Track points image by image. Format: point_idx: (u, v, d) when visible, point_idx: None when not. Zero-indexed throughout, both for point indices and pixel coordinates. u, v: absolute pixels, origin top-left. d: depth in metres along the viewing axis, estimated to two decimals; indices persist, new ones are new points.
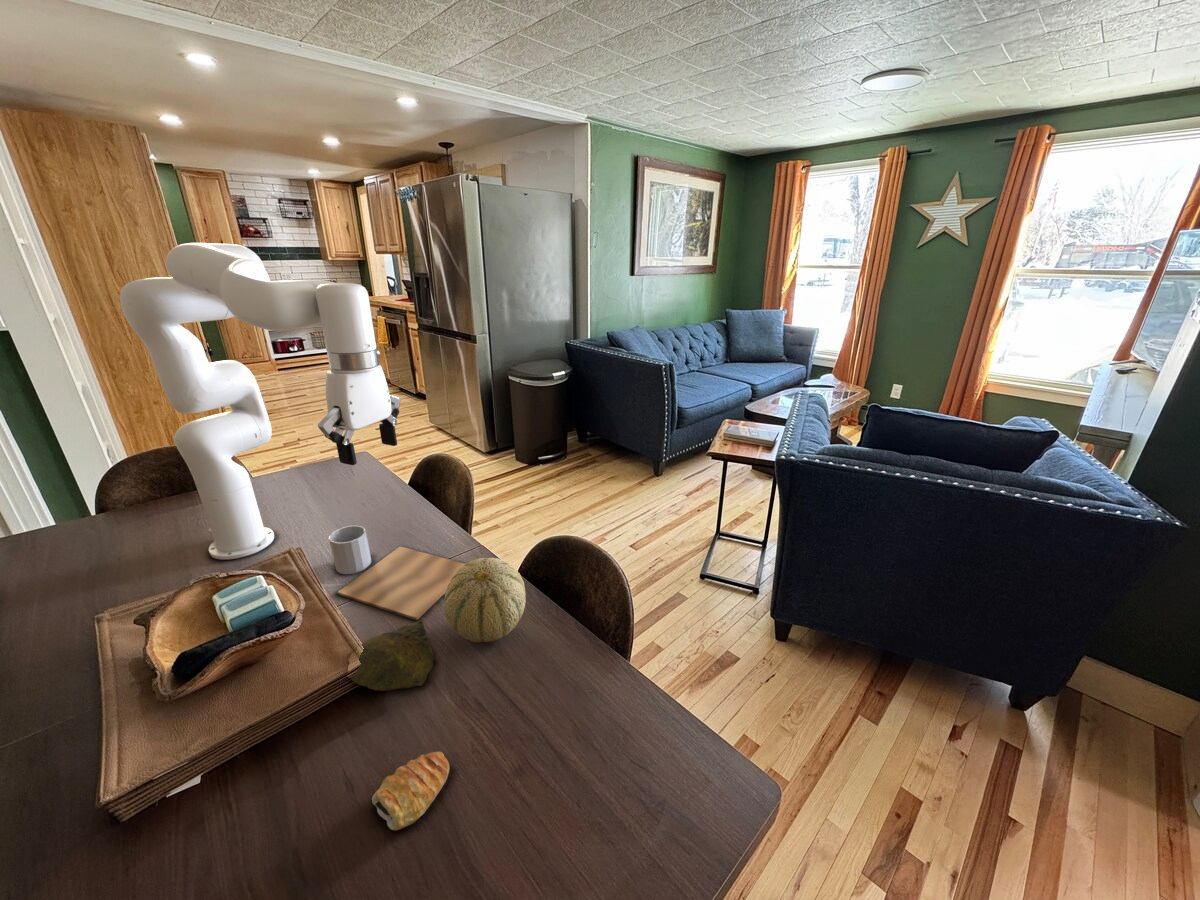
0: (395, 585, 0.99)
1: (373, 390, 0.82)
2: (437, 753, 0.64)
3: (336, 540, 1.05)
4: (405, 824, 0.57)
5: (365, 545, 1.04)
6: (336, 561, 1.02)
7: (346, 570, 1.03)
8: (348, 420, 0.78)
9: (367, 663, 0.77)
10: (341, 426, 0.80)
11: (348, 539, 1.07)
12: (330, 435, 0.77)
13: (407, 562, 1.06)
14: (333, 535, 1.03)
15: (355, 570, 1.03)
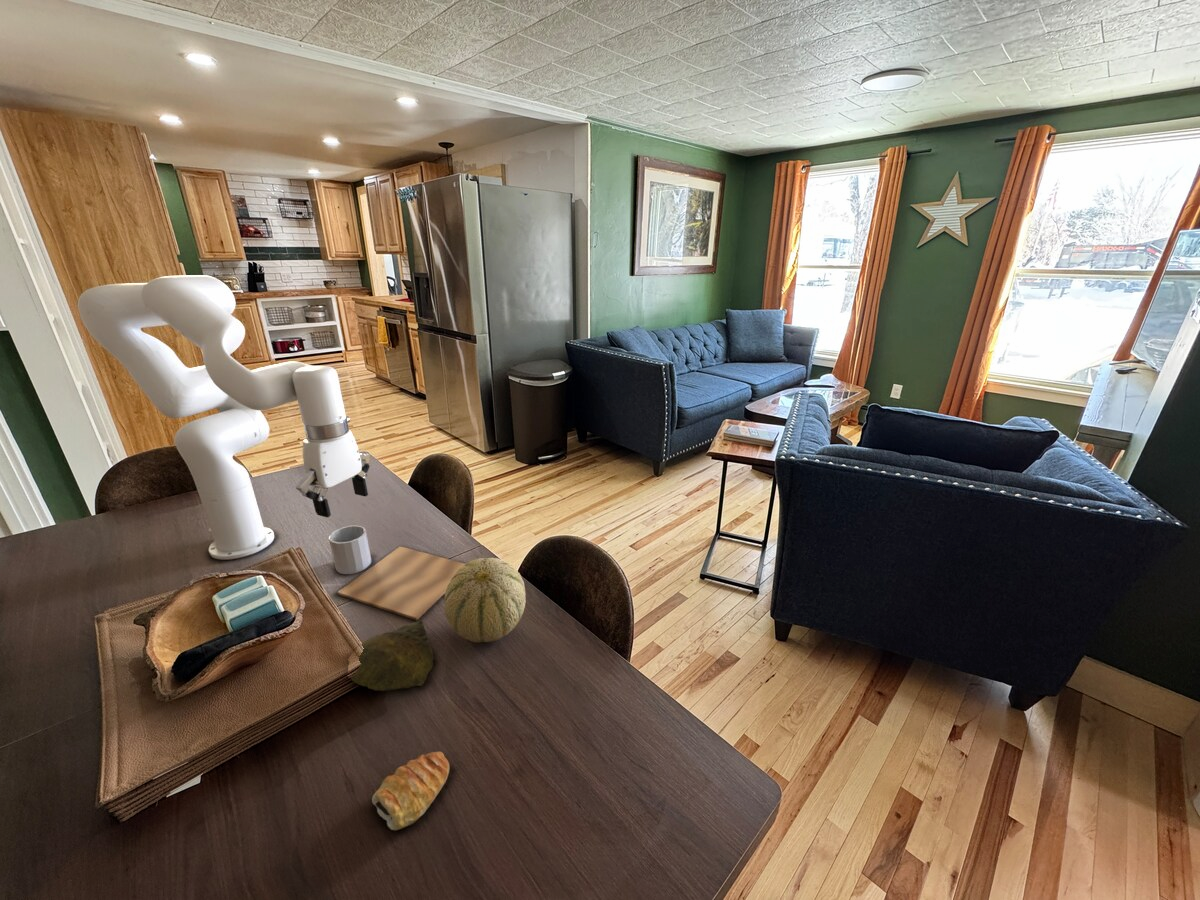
0: (395, 585, 0.99)
1: (344, 453, 0.95)
2: (437, 753, 0.64)
3: (336, 540, 1.05)
4: (405, 824, 0.57)
5: (365, 545, 1.04)
6: (336, 561, 1.02)
7: (346, 570, 1.03)
8: (322, 480, 0.92)
9: (367, 663, 0.77)
10: (316, 485, 0.94)
11: (348, 539, 1.07)
12: (306, 494, 0.91)
13: (407, 562, 1.06)
14: (333, 535, 1.03)
15: (355, 570, 1.03)
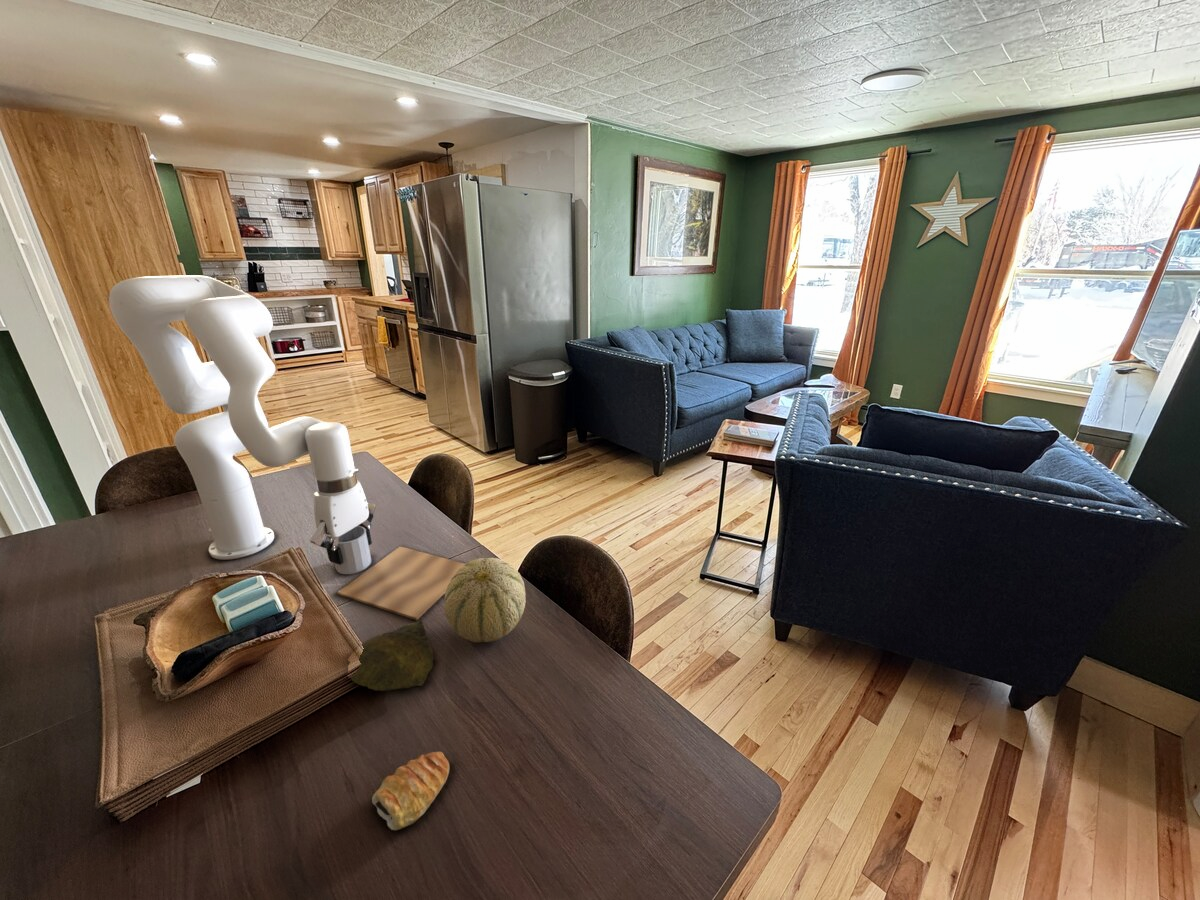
0: (395, 585, 0.99)
1: (352, 503, 1.00)
2: (437, 753, 0.64)
3: None
4: (405, 824, 0.57)
5: (365, 545, 1.04)
6: None
7: (346, 570, 1.03)
8: (332, 531, 0.97)
9: (367, 663, 0.77)
10: (328, 535, 0.99)
11: (348, 539, 1.07)
12: (321, 545, 0.97)
13: (407, 562, 1.06)
14: None
15: (355, 570, 1.03)
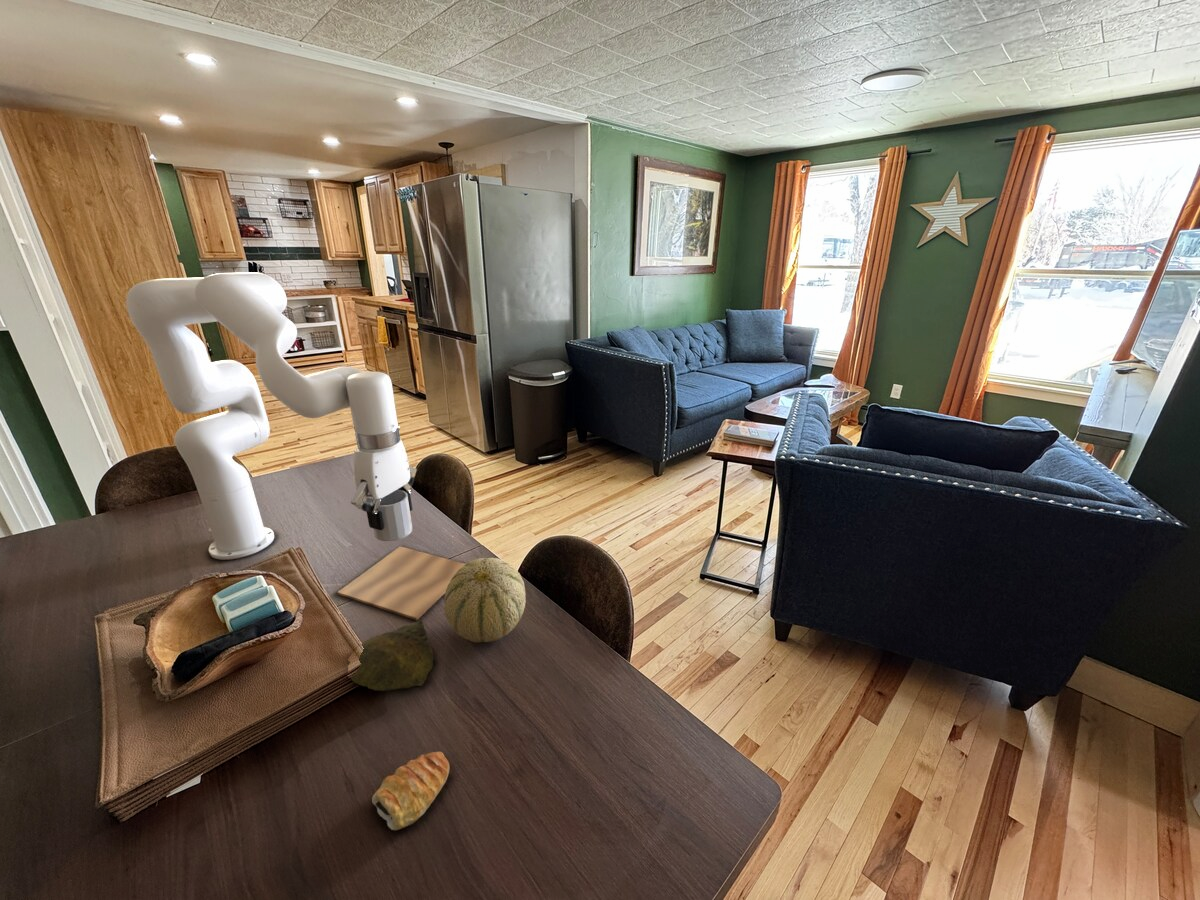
0: (395, 585, 0.99)
1: (395, 463, 0.91)
2: (437, 753, 0.64)
3: None
4: (405, 824, 0.57)
5: (407, 510, 0.95)
6: None
7: (387, 537, 0.94)
8: (374, 491, 0.88)
9: (367, 663, 0.77)
10: (369, 497, 0.90)
11: (387, 504, 0.98)
12: (362, 507, 0.88)
13: (407, 562, 1.06)
14: (372, 499, 0.95)
15: (396, 537, 0.95)
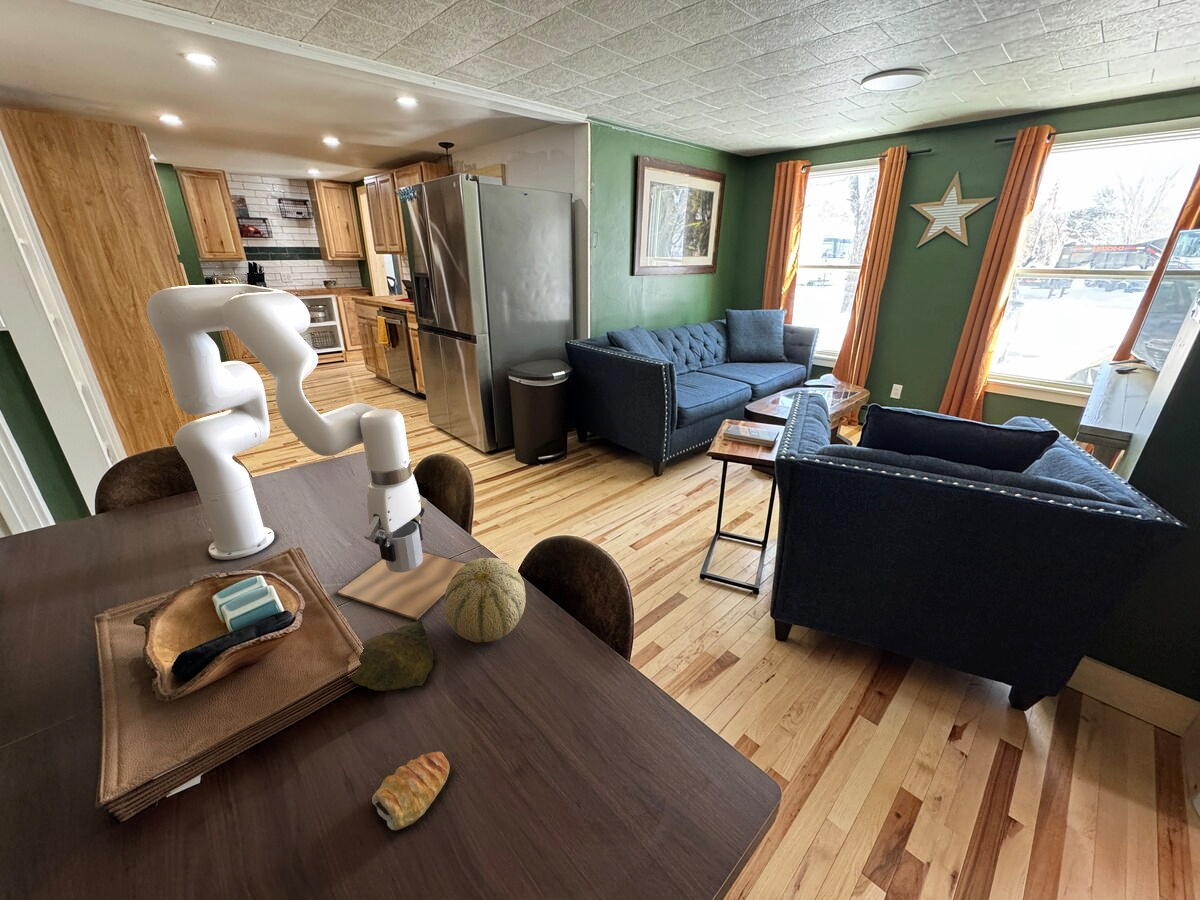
0: (395, 585, 0.99)
1: (406, 496, 0.94)
2: (437, 753, 0.64)
3: None
4: (405, 824, 0.57)
5: (418, 541, 0.97)
6: None
7: (398, 568, 0.96)
8: (386, 526, 0.90)
9: (367, 663, 0.77)
10: (381, 530, 0.93)
11: (398, 535, 1.00)
12: (375, 541, 0.90)
13: None
14: None
15: (408, 568, 0.97)
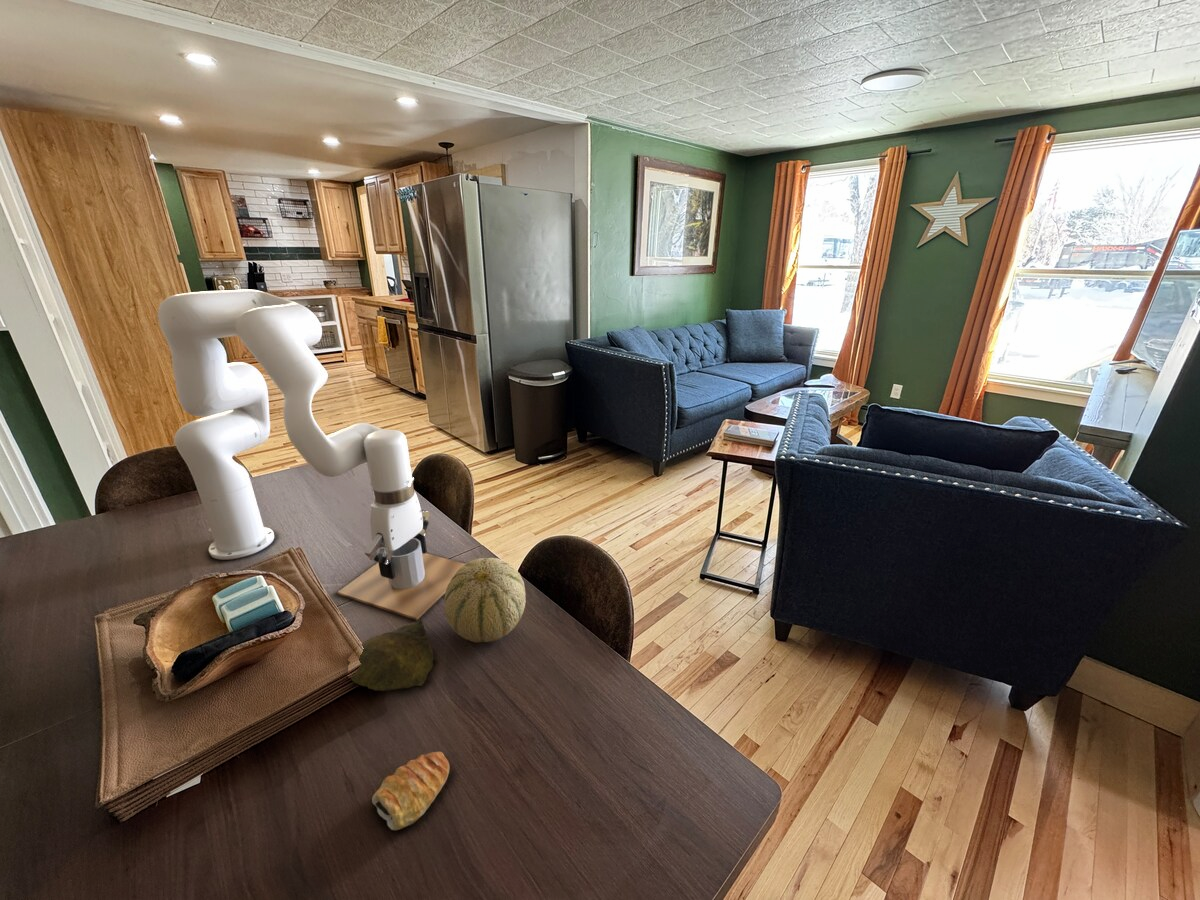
0: None
1: (409, 515, 0.95)
2: (437, 753, 0.64)
3: None
4: (405, 824, 0.57)
5: (420, 558, 0.99)
6: None
7: (401, 585, 0.98)
8: (389, 544, 0.92)
9: (367, 663, 0.77)
10: (382, 548, 0.94)
11: (401, 551, 1.02)
12: (375, 559, 0.91)
13: None
14: None
15: (410, 584, 0.98)
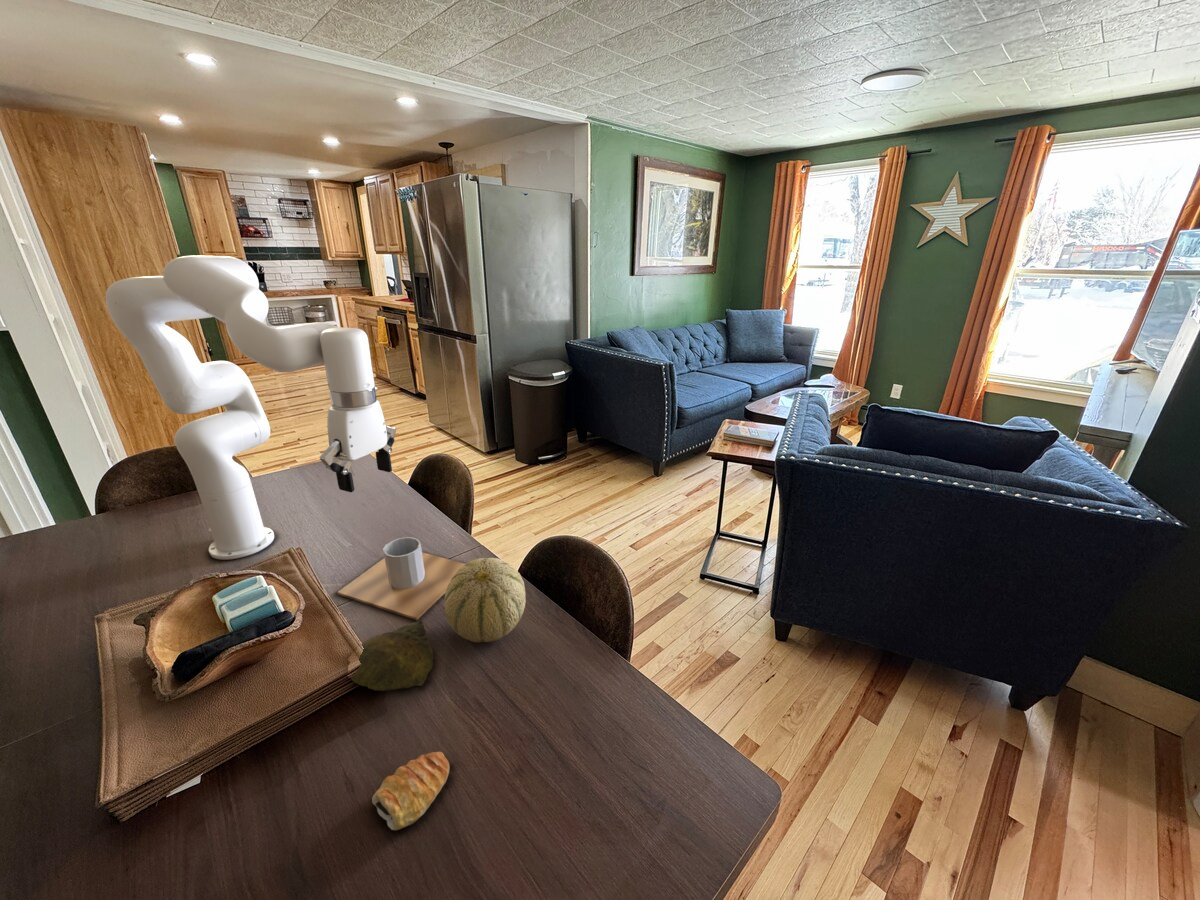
0: None
1: (371, 424, 0.89)
2: (437, 753, 0.64)
3: (389, 553, 1.00)
4: (405, 824, 0.57)
5: (420, 558, 0.99)
6: (391, 575, 0.97)
7: (401, 585, 0.98)
8: (348, 452, 0.86)
9: (367, 663, 0.77)
10: (341, 457, 0.87)
11: (401, 551, 1.02)
12: (331, 466, 0.84)
13: None
14: (387, 548, 0.98)
15: (410, 584, 0.98)
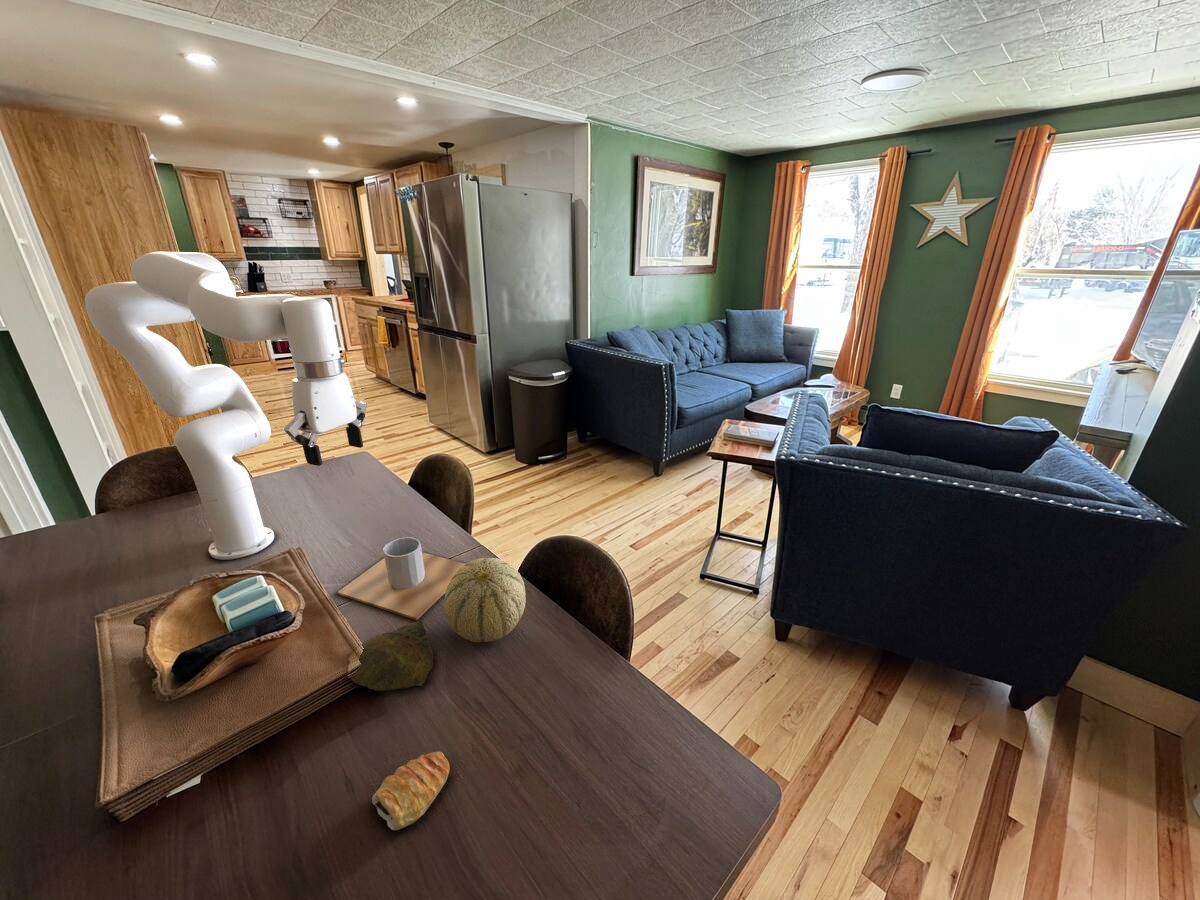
0: None
1: (337, 396, 0.88)
2: (437, 753, 0.64)
3: (389, 553, 1.00)
4: (405, 824, 0.57)
5: (420, 558, 0.99)
6: (391, 575, 0.97)
7: (401, 585, 0.98)
8: (313, 424, 0.85)
9: (367, 663, 0.77)
10: (307, 429, 0.86)
11: (401, 551, 1.02)
12: (296, 438, 0.83)
13: None
14: (387, 548, 0.98)
15: (410, 584, 0.98)
